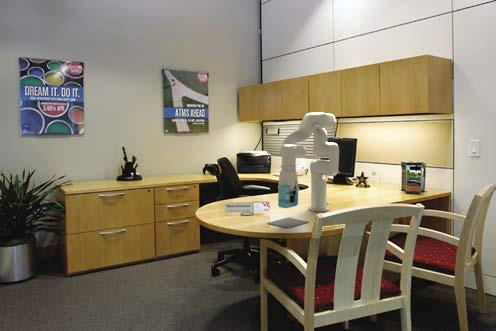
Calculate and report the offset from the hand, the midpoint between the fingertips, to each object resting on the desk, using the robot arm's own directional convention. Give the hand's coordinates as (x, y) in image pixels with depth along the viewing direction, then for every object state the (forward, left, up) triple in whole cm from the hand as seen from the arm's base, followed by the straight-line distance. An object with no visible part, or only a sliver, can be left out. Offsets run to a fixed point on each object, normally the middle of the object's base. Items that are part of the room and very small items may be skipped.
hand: (288, 201), depth 213 cm
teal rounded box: (0, 0, -3) cm, 3 cm away
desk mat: (0, 0, -12) cm, 12 cm away
